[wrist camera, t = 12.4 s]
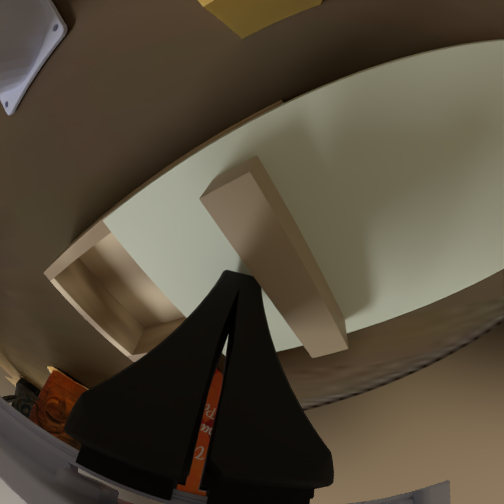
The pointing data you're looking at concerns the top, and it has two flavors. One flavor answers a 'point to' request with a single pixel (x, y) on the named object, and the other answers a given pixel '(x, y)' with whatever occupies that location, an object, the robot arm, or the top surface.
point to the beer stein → (23, 397)
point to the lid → (339, 199)
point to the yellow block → (254, 12)
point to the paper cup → (203, 437)
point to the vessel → (57, 405)
